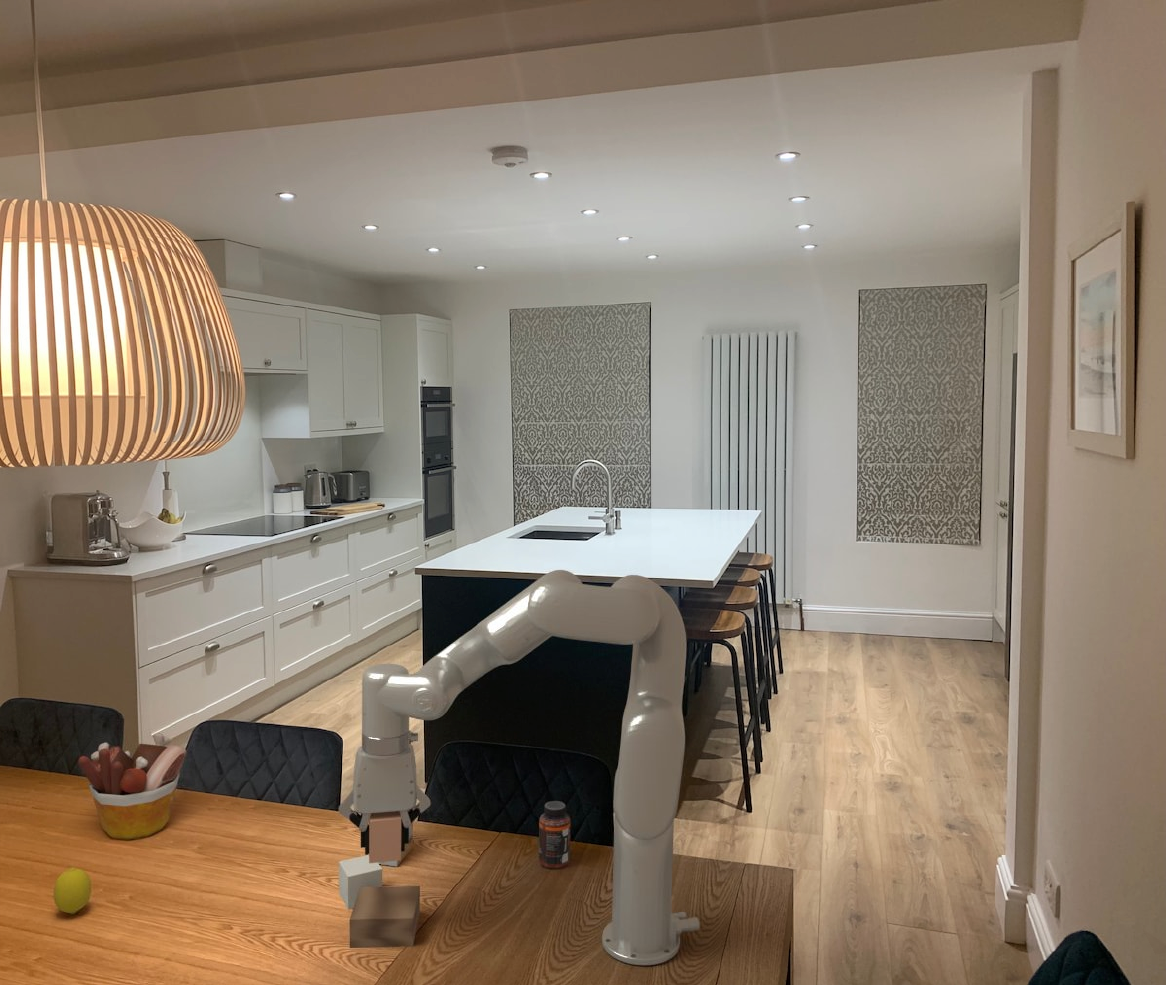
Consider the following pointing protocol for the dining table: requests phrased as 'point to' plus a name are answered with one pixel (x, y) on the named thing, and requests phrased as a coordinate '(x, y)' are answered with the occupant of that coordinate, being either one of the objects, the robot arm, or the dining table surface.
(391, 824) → the terracotta block
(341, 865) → the grey cube
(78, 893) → the lemon
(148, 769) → the bucket of meat
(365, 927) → the walnut block
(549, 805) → the supplement bottle
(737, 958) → the dining table surface
